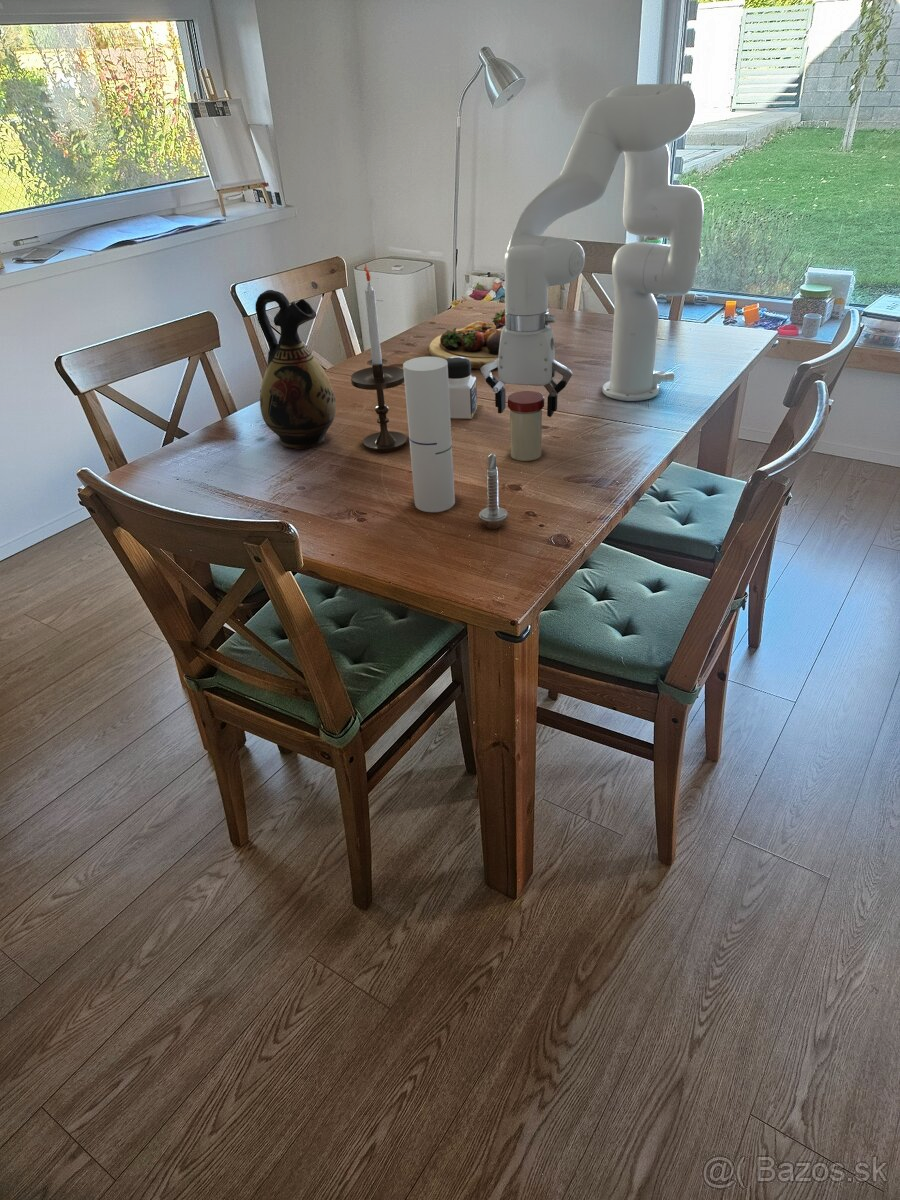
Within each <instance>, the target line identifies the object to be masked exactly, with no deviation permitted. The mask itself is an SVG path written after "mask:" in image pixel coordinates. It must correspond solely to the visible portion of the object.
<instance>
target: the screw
mask: <svg viewBox="0 0 900 1200" xmlns="http://www.w3.org/2000/svg"><path fill="white" fill-rule="evenodd" d="M486 472H487V473H486V479H487V480H486V482H487V483H486V485H487V486H486V488H487V490H486V492H487V493H486V495H487V497H486V498H487V499H486V501H487V507H485V508H483V509H482V510H481V511H479V513H478V518H479V520H480V521H482V522H484V524H485V526H486V527H487V529H489V530H490V529H491V530H493V529H494V530H498V529H499V528H500V527H502V526H503V523H502V522H504V521H506V520H507V519H508V517H509V513H508V511H507V510H506V509H504V508H502V507H499V499H500V498H499V471H498V467H497V455H496V454H494V453H490V454H488V455H487V470H486Z"/></svg>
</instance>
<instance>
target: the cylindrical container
mask: <svg viewBox="0 0 900 1200" xmlns="http://www.w3.org/2000/svg"><path fill="white" fill-rule="evenodd" d="M402 369H403V370H404V392H405V394H404V395H405V403H406V405H405V406H406V417H407V427H408V440H409V453H410V460H411V461H410V462H411V463H410V465H411V475H412V476H411V477H412V487H413V488H412V489H413V496H414V497H413V498H414V499H413V500H414V506H415V508H416V509H418V510H419V511H422V512H426V513H440V512H444V511H447V510H450V509H451V508H453V507H454V505H455V504H456V497H455V496H456V495H455V477H454V461H453V460H454V459H453V441H452V422H451V421H452V419H451V418H450V401H449V382H448V364H447V360H445V359H443V358H439V357H433V356H420V357H414V358H411V359H408V360H406V361H404V362H403V364H402Z"/></svg>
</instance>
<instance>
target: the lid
mask: <svg viewBox="0 0 900 1200" xmlns="http://www.w3.org/2000/svg"><path fill="white" fill-rule="evenodd" d="M507 408H508V409H509V411H510V410H512V411H516V412H523V413H528V412H535V411H538V410H541V409H542V410H543V409H544V408H545V395H544V394H543V393H541V392H538V391H533V390H522V391H521V390H520V391H516V392H513V393H511V394H509V395H508V397H507Z"/></svg>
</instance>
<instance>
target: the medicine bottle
mask: <svg viewBox="0 0 900 1200" xmlns="http://www.w3.org/2000/svg"><path fill="white" fill-rule="evenodd" d="M446 360H447V364H448V382H449V401H450V419H455V420H456V419H457V420H458V419H459V420H471V419H473V417H474V415H475V413H476V411H477V408H478V388H477V377H476V376H472V368H471V361H470V360H469V359H467V358H465V357H459V356H457V357H450V358H448V359H446Z"/></svg>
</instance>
